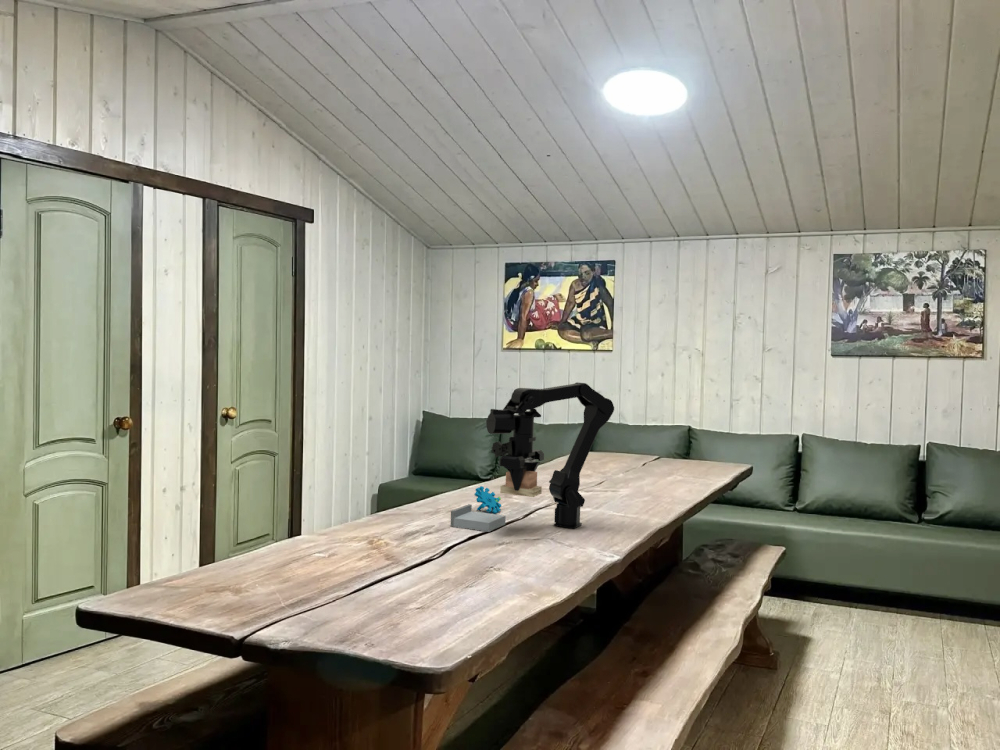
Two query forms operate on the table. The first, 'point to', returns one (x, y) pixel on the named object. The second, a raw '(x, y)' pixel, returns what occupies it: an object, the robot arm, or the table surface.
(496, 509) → the gear
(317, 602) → the table surface
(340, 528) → the table surface
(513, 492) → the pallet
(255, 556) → the table surface
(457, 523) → the dock
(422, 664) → the table surface
